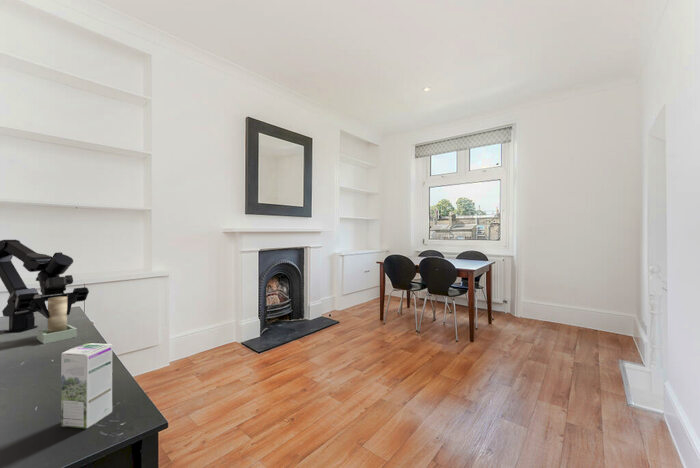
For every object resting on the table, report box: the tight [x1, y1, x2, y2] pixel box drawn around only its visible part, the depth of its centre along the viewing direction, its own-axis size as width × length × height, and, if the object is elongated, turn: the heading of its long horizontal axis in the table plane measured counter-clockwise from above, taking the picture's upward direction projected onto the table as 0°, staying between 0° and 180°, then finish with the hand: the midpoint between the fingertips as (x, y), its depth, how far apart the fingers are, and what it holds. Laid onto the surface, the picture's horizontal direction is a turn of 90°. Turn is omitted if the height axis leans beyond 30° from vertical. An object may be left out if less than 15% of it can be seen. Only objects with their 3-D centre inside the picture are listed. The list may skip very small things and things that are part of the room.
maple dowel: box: [46, 296, 68, 334], centre depth 107 cm, size 5×5×13 cm
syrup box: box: [60, 342, 113, 429], centre depth 59 cm, size 6×6×14 cm
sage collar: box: [36, 324, 78, 345], centre depth 106 cm, size 9×9×3 cm
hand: (58, 316), depth 106 cm, fingers closed on maple dowel, 5 cm apart
